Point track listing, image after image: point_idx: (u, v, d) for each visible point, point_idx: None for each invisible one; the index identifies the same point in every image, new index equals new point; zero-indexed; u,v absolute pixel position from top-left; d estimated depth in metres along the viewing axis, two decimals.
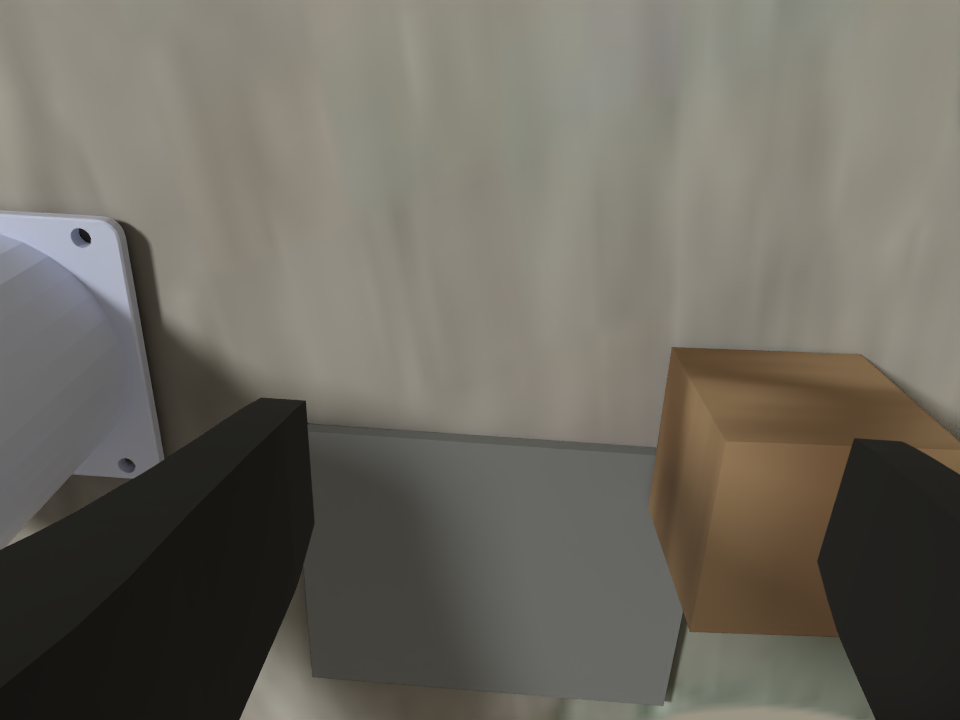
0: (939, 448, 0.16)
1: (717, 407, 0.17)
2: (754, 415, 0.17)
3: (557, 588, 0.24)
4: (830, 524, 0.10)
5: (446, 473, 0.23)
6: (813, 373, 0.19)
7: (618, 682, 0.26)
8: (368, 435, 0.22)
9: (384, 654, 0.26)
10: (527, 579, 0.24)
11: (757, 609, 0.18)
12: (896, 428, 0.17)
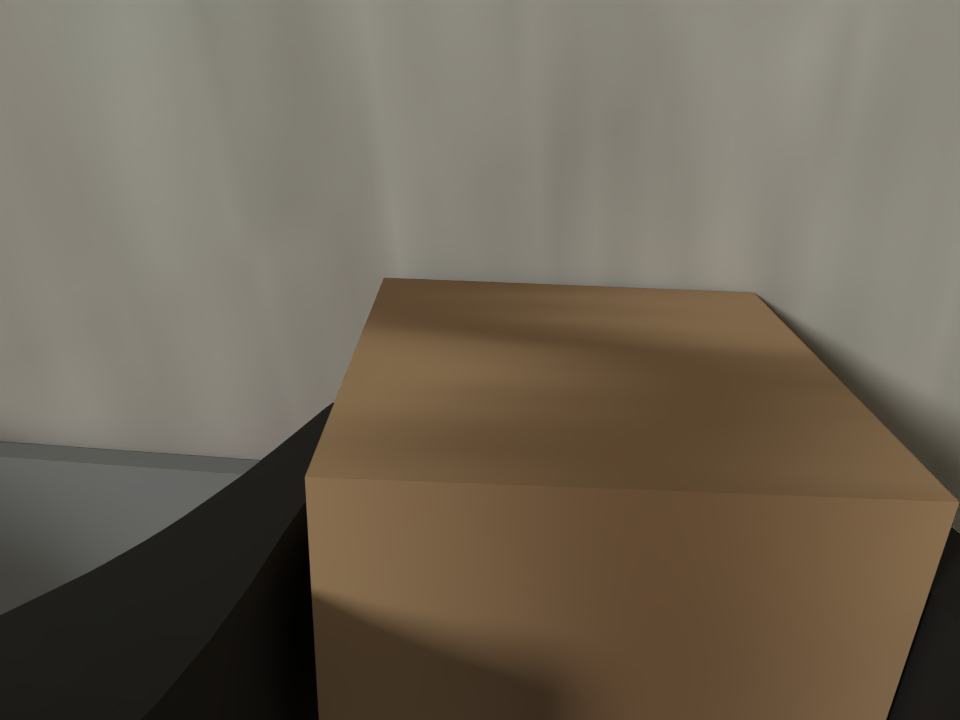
0: (880, 496, 0.06)
1: (367, 389, 0.07)
2: (442, 409, 0.07)
3: None
4: None
5: (30, 515, 0.13)
6: (640, 323, 0.09)
7: None
8: None
9: None
10: None
11: None
12: (778, 442, 0.07)
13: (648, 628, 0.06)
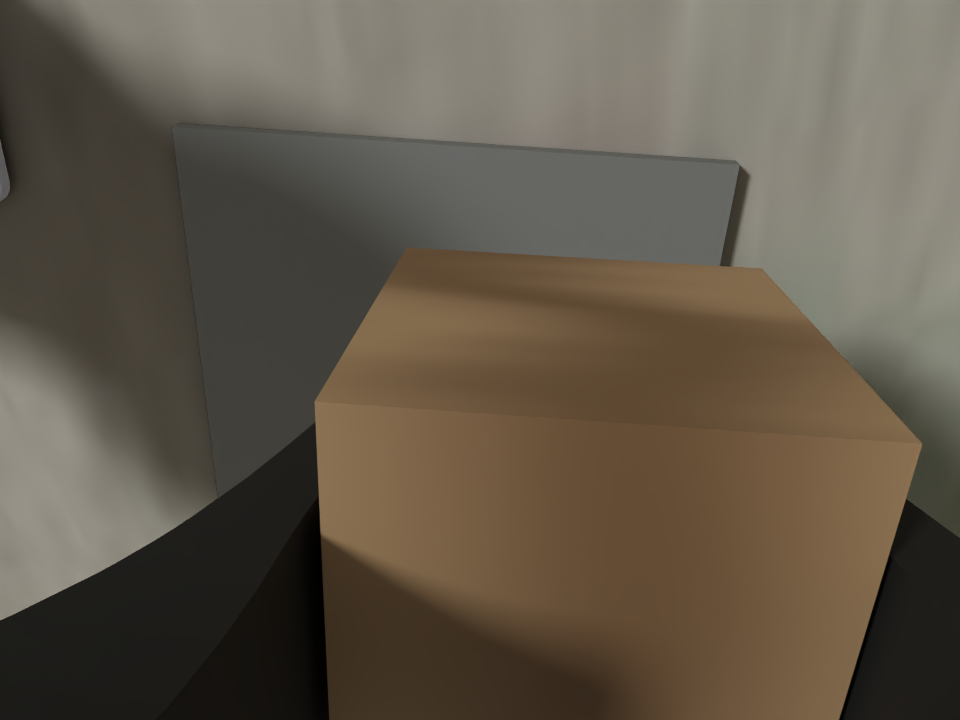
0: (847, 436, 0.06)
1: (379, 336, 0.08)
2: (446, 353, 0.08)
3: None
4: None
5: (379, 193, 0.17)
6: (645, 291, 0.10)
7: None
8: (273, 133, 0.17)
9: None
10: None
11: None
12: (759, 390, 0.07)
13: (628, 557, 0.07)
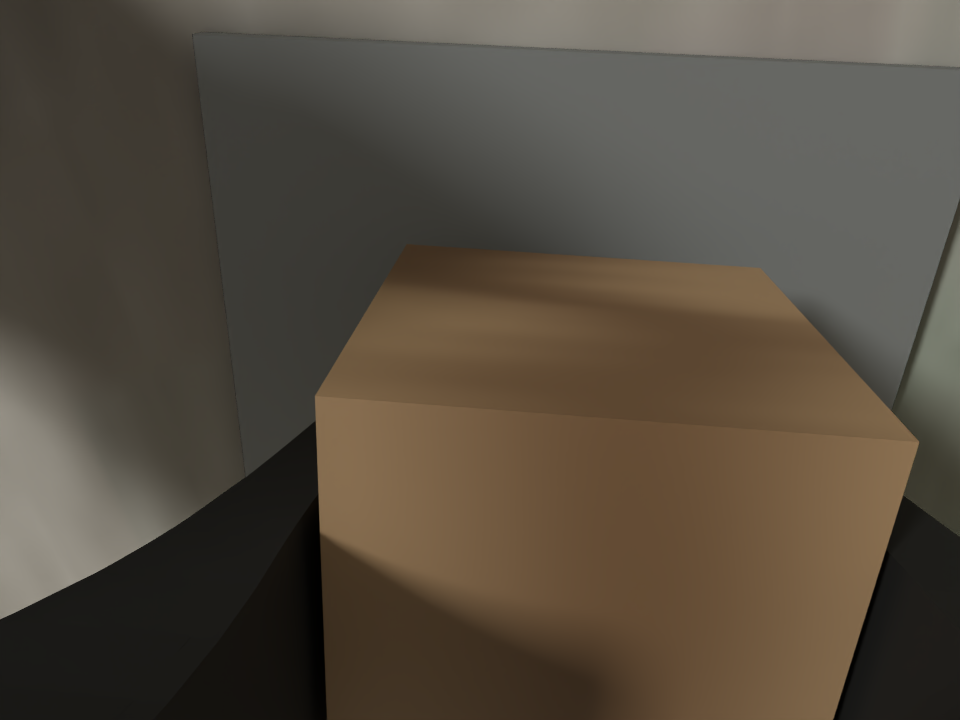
0: (844, 434, 0.06)
1: (379, 332, 0.08)
2: (446, 349, 0.08)
3: None
4: None
5: (481, 125, 0.12)
6: (644, 288, 0.10)
7: None
8: (335, 41, 0.12)
9: None
10: None
11: None
12: (756, 389, 0.07)
13: (626, 554, 0.07)
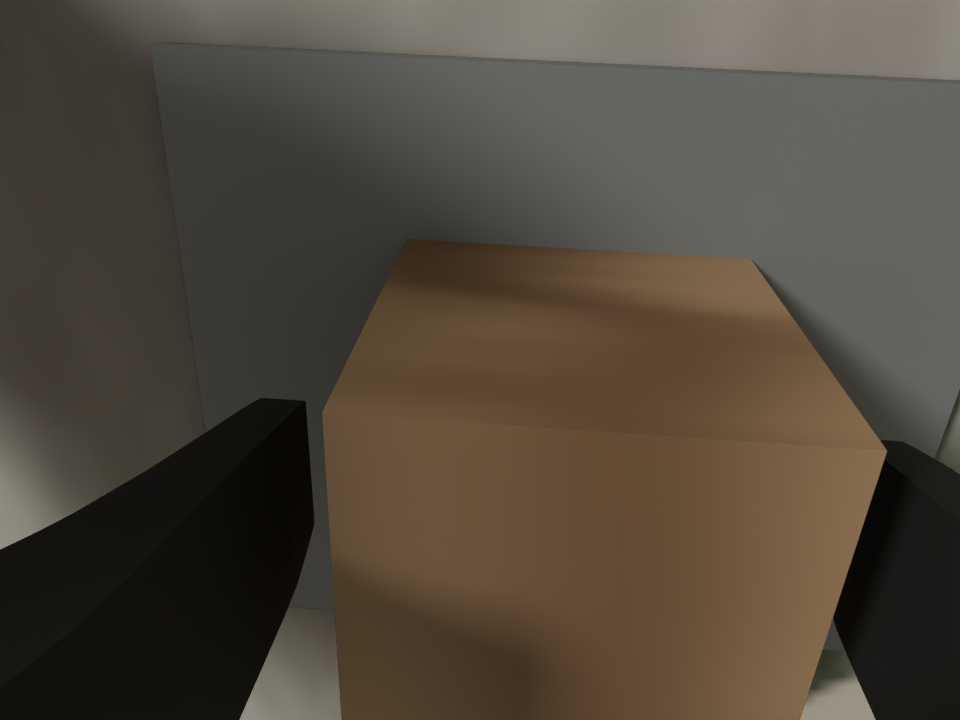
0: (817, 444, 0.07)
1: (381, 340, 0.08)
2: (445, 360, 0.08)
3: None
4: None
5: (477, 147, 0.11)
6: (636, 286, 0.10)
7: None
8: (312, 52, 0.10)
9: None
10: None
11: None
12: (739, 395, 0.08)
13: (615, 551, 0.08)
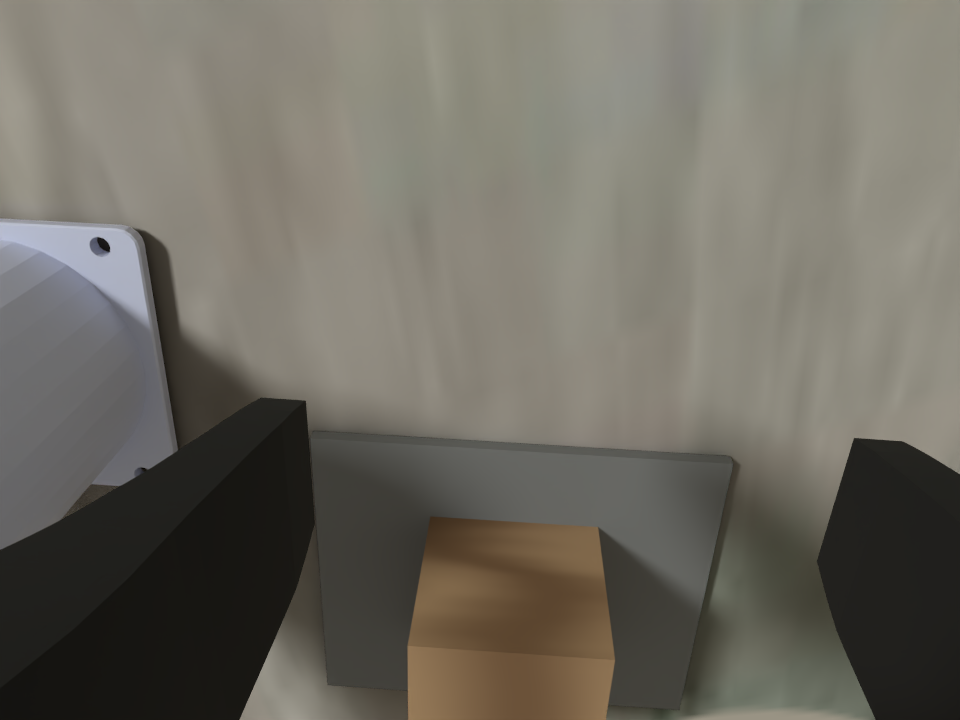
0: (590, 657, 0.19)
1: (425, 600, 0.20)
2: (452, 612, 0.20)
3: None
4: (830, 524, 0.10)
5: (464, 480, 0.23)
6: (538, 553, 0.22)
7: (634, 687, 0.26)
8: (387, 442, 0.22)
9: (400, 662, 0.26)
10: None
11: None
12: (567, 630, 0.20)
13: (519, 692, 0.19)
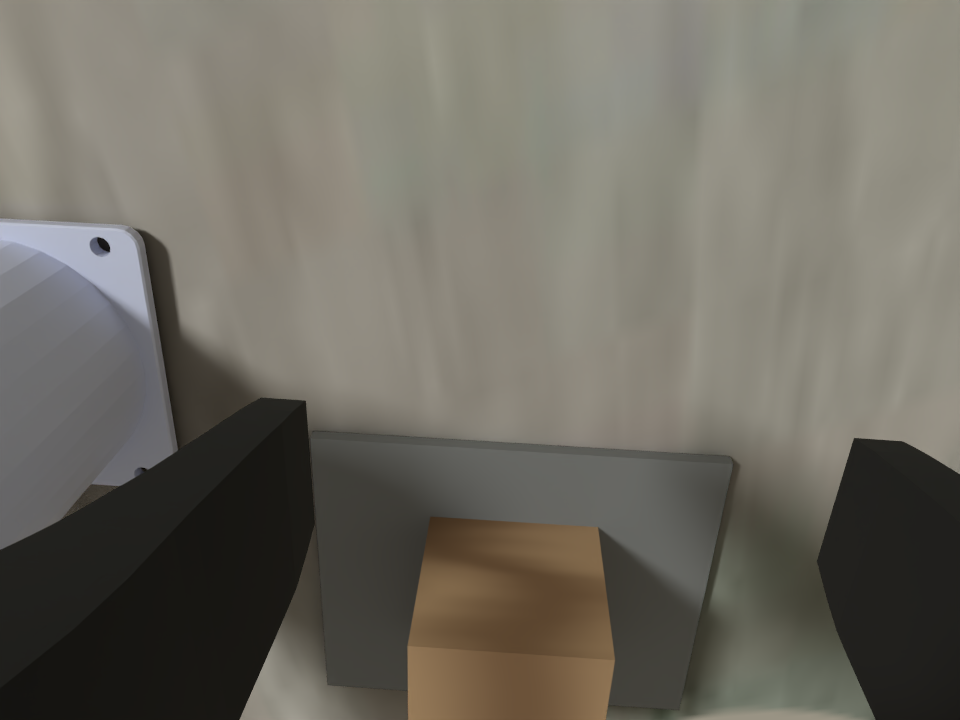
0: (590, 657, 0.19)
1: (425, 600, 0.20)
2: (452, 612, 0.20)
3: None
4: (830, 524, 0.10)
5: (464, 480, 0.23)
6: (538, 554, 0.22)
7: (634, 687, 0.26)
8: (387, 442, 0.22)
9: (400, 662, 0.26)
10: None
11: None
12: (567, 631, 0.20)
13: (519, 692, 0.19)
